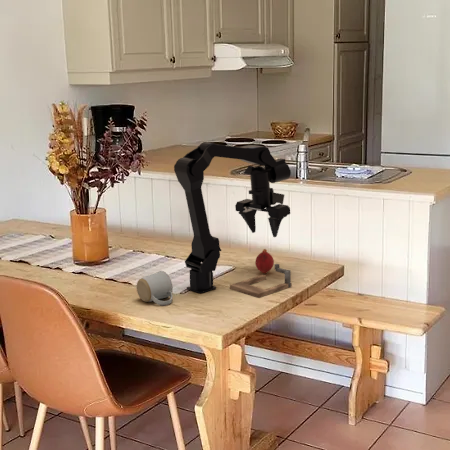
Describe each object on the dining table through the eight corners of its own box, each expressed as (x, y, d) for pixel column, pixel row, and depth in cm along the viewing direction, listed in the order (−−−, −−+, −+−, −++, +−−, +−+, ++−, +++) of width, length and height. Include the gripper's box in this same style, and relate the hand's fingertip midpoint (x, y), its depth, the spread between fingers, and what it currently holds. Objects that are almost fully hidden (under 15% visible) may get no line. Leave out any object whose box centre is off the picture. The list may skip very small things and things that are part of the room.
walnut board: (259, 297, 201) (259, 277, 199) (229, 288, 209) (229, 269, 208) (292, 286, 210) (292, 267, 208) (262, 278, 218) (262, 259, 217)
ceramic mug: (135, 299, 202) (133, 274, 200) (158, 293, 207) (157, 268, 205) (156, 309, 194) (155, 282, 192) (180, 302, 199) (179, 276, 197)
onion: (272, 276, 220) (272, 252, 218) (254, 276, 221) (253, 251, 219) (274, 271, 225) (274, 247, 224) (257, 270, 227) (256, 246, 225)
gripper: (300, 183, 215) (303, 232, 219) (256, 177, 228) (260, 224, 232) (275, 191, 208) (279, 242, 212) (232, 185, 221) (236, 232, 225)
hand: (264, 234), depth 221 cm, fingers open, 9 cm apart
